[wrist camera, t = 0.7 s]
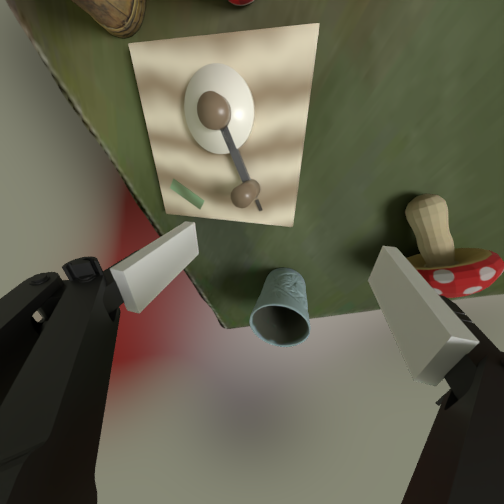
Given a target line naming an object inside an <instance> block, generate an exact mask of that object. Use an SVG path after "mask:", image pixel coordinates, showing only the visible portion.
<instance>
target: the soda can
mask: <svg viewBox="0 0 504 504" xmlns="http://www.w3.org/2000/svg"><path fill="white" fill-rule="evenodd" d="M228 1H229V2H230V3H232V4H234V5H238V6H244V5H247V4H250V3H252V2H253V1H254V0H228Z"/></svg>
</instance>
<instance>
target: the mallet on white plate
mask: <svg viewBox="0 0 504 504" xmlns="http://www.w3.org/2000/svg"><path fill="white" fill-rule="evenodd" d="M184 111H185V118H186V122H187V125H188V128H189V130H190V132H191V134H192V136H193V137H194V139H195V140H196V141H197V143H198V144H199V145H200V146H202V147H203V148H204V149H206V150H207V151H209V152H212V153H215V154H227V153H230V154H231V157H232V159H233V161H234V164H235V166H236V168H237V171H238V173H239V175H240V178H241V180H242V182H243V183H242V184H240V185H239V186H237V187H235V188H234V189H233V190H232V192H231V201H232V203H233V204H234V205H235V206H236V207H238V208H246V207H248V206H249V205H250V204H251V202H252V201H253V200H254V199H255V198H257V197H258V195H259V193H260V189H261V188H260V185H259V183H258V182H257V181H256V180H254V179H250V176H249V174H248V171H247V169H246V166H245V164H244V161H243V159H242V156H241V154H240V152H239V148H241V147H242V146H243V145H244V144H245V142H246V141H247V140H248V138H249V136H250V134H251V132H252V129H253V125H254V120H255V105H254V100H253V96H252V93H251V91H250V88H249V86H248V85H247V83H246V82H245V80H244V79H243V78H242V77H241V76H240V75H239V74H238V73H237V72H236V71H235V70H234V69H233V68H231V67H229V66H227V65H224V64H220V63H212V64H208V65H206V66H203V67H202V68H200V69H199V70H198V71H197V72H196V73H195V74H194V75H193V77H192V78H191V80H190V82H189V84H188V86H187V90H186V93H185V100H184Z"/></svg>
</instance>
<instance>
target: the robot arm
mask: <svg viewBox="0 0 504 504" xmlns="http://www.w3.org/2000/svg"><path fill="white" fill-rule="evenodd" d="M198 254H199V251H198V243H197V236H196V228H195V222H187V221H185V222H184V223H182V224H181V225H179V226H177V227H176V228H174V229H173V230H171V231H169V232H168V233H166V234H165V235H163V236H161V237H160V238H158V239H157V240H155V241H153V242H152V243H150V244H149V245H147V246H145V247H144V248H142V249H140V250H138V251H135V252H134V253H132V254H130V255H129V256H128V257H126V258H124V259H123V260H121V261H119V262H118V263H116V264H114V265H113V266H111V267H109V268H108V269H106V270H105V271H102V268H101V266H100V264H99V262H98V260H97V258H95V257H82V258H79V259H75V260H72V261H70V262H68V263H66V264H65V265H63V267H62V268H63V270H64V271H65V274H66V275H67V277H68V279H69V280H62V279H61V278H60V276H59V275H58V273H55V272H48V273H40V274H37V275H34V276H33V277H31V278H28V279H27V280H25V281H23V282H22V283H21V284H19V285H18V286H17V287H16V288H14V289H13V290H11V291H10V292H9V293H8V294H6V295H5V296H4V297H2V298H1V299H0V504H97V489H96V485H95V465H96V459H97V453H98V447H99V441H100V435H101V429H102V423H103V417H104V410H105V404H106V398H107V392H108V385H109V379H110V373H111V367H112V361H113V355H114V349H115V343H116V337H117V330H118V324H119V318H120V308H119V306H120V305H121V304H122V303H124V304H125V306H126V308H127V310H128V311H132V312H136V313H140V312H141V311H142V310H143V309H144V308H145V307H146V306H147V305H148V304H149V303H150V302H151V301H152V300H153V299H154V298H155V297H156V296H157V295H158V294H159V293H160V292H161V291H162V290H163V289H164V288H165V287H166V286H167V285H168V284H169V283H170V282H171V281H172V280H173V279H174V278H175V277H176V276H177V275H178V274H179V273H180V272H181V271H182V270H183V269H184V268H185V267H186V266H187V265H188V264H189V263H190V262H191V261H192V260H193V259H194V258H195V257H196V256H197V255H198ZM368 282H369V284H370V286H371V288H372V290H373V293H374V295H375V297H376V299H377V301H378V304H379V306H380V308H381V310H382V312H383V314H384V317H385V319H386V321H387V323H388V326H389V328H390V329H391V332H392V334H393V336H394V339H395V341H396V343H397V345H398V348H399V350H400V351H401V354H402V356H403V359H404V361H405V363H406V365H407V367H408V370H409V372H410V374H411V376H412V378H413V380H414V381H417V382H421V383H425V384H429V385H433V386H437V385H438V384H439V383H440V382H441V380H442V379H444V378H445V379H446V381H447V383H448V384H449V386H450V388H451V389H450V390H449V391H448V392H447V393H446V394H444V395H443V396H442V397H441V398H440V399H439V400H438V401H437V402H436V404H437V405H440V404H441V406H440V409H439V411H438V414H437V416H436V419H435V421H434V424H433V426H432V428H431V431H430V434H429V436H428V438H427V441H426V443H425V446H424V449H423V451H422V453H421V456H420V458H419V461H418V463H417V466H416V468H415V471H414V473H413V476H412V478H411V481H410V483H409V486H408V488H407V491H406V493H405V495H404V498H403V500H402V503H401V504H504V352H501V351H500V350H499V349H498V348H497V347H496V346H495V345H494V344H493V343H492V342H491V341H490V340H489V339H488V338H487V337H486V336H485V334H483V332H482V331H481V330H480V329H479V328H478V327H477V326H476V325H475V324H474V323H472V321H471V320H470V319H469V317H468V316H467V315H465V313H464V312H463V311H462V310H461V309H460V308H459V307H458V306H457V305H456V304H455V303H453V302H452V301H451V300H449V299H448V298H446V297H445V296H442V295H438V294H437V293H436V292H435V291H434V289H433V288H432V287H431V286H430V285H429V284H428V283H427V281H426V280H425V279H424V278H423V277H422V276H421V275H420V274H419V272H418V271H417V270H416V269H415V268H414V267H413V266H412V264H411V263H410V262H409V261H408V260H407V259H406V258H405V257H404V255H403V254H402V253H401V252H400V251H399V250H398V249H397V247H389V246H382V249H381V251H380V253H379V256H378V258H377V260H376V263H375V265H374V268H373V270H372V272H371V275H370V277H369V280H368ZM36 311H38V312H39V313H40V315H41V316H42V317H43V318H42V320H40V321H39V322H37V321H35V319H34V318H33V317H32V315H33V314H34V313H35V312H36Z"/></svg>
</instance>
